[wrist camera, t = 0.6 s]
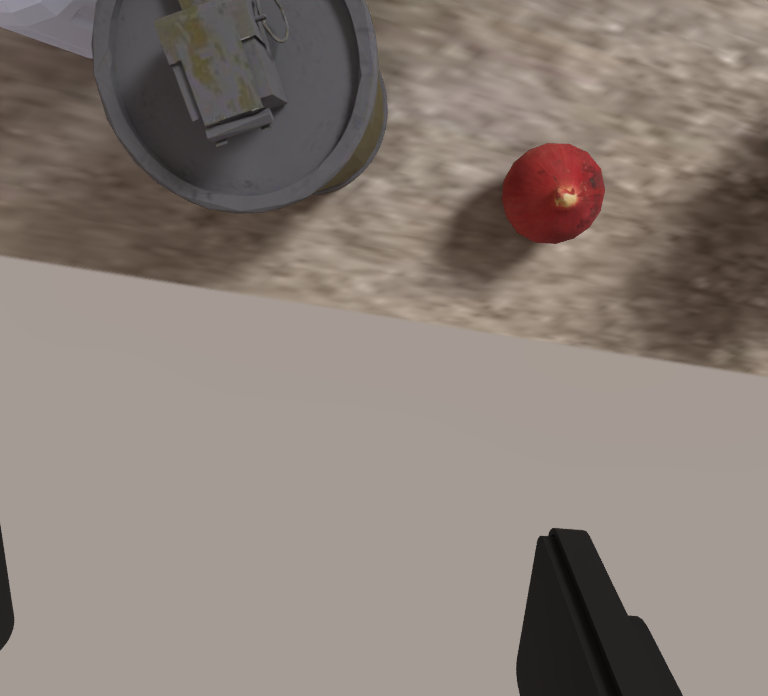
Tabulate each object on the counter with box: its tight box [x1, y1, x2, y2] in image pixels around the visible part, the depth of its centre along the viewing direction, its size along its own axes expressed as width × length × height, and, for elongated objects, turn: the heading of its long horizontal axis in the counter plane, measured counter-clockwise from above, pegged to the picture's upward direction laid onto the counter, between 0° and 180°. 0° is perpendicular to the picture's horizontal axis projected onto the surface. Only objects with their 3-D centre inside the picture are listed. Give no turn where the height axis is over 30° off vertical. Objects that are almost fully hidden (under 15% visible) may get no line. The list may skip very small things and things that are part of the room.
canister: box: [91, 0, 388, 213], centre depth 29 cm, size 11×10×20 cm
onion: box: [502, 143, 605, 244], centre depth 36 cm, size 6×6×8 cm
